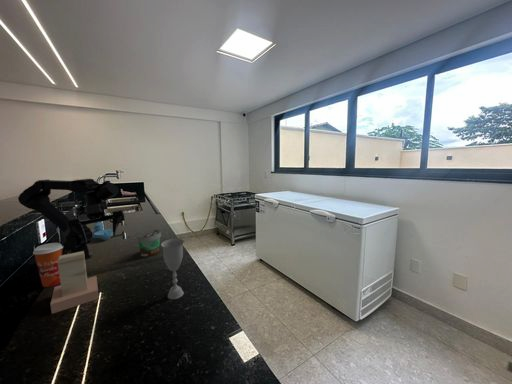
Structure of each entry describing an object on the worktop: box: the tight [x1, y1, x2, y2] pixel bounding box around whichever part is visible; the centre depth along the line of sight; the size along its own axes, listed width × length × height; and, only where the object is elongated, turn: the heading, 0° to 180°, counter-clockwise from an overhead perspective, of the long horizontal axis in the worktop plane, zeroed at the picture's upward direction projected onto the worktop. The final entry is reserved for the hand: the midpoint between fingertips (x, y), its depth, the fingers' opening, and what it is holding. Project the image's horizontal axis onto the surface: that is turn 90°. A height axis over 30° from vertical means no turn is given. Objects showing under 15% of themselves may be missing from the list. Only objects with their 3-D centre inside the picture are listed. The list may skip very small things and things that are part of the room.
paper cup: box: [32, 242, 63, 288], centre depth 77 cm, size 8×8×14 cm
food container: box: [137, 229, 162, 259], centre depth 101 cm, size 12×6×10 cm, turn 168°
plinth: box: [50, 275, 99, 314], centre depth 69 cm, size 11×11×3 cm
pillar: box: [58, 251, 88, 297], centre depth 68 cm, size 6×6×11 cm
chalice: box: [160, 238, 185, 300], centre depth 70 cm, size 7×7×18 cm
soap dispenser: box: [92, 221, 114, 241], centre depth 122 cm, size 18×10×9 cm, turn 53°
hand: (100, 239), depth 85 cm, fingers open, 9 cm apart
